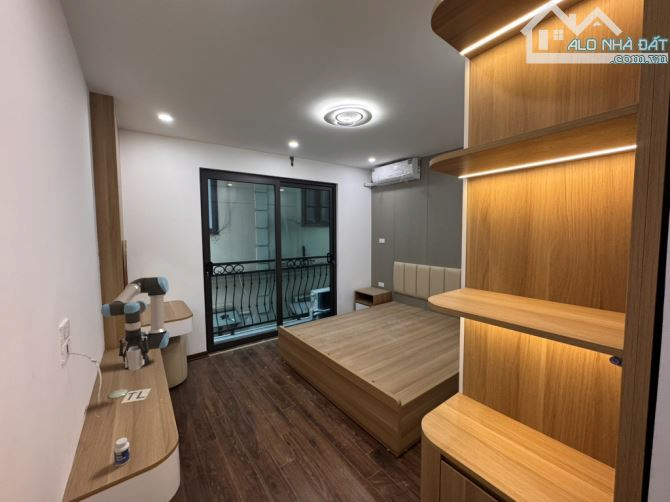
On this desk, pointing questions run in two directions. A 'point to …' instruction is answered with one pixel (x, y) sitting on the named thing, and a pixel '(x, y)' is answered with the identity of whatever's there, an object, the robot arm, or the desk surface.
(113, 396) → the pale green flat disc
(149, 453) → the desk surface
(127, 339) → the robot arm
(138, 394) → the tile
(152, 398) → the desk surface
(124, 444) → the pill bottle
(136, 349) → the cup
